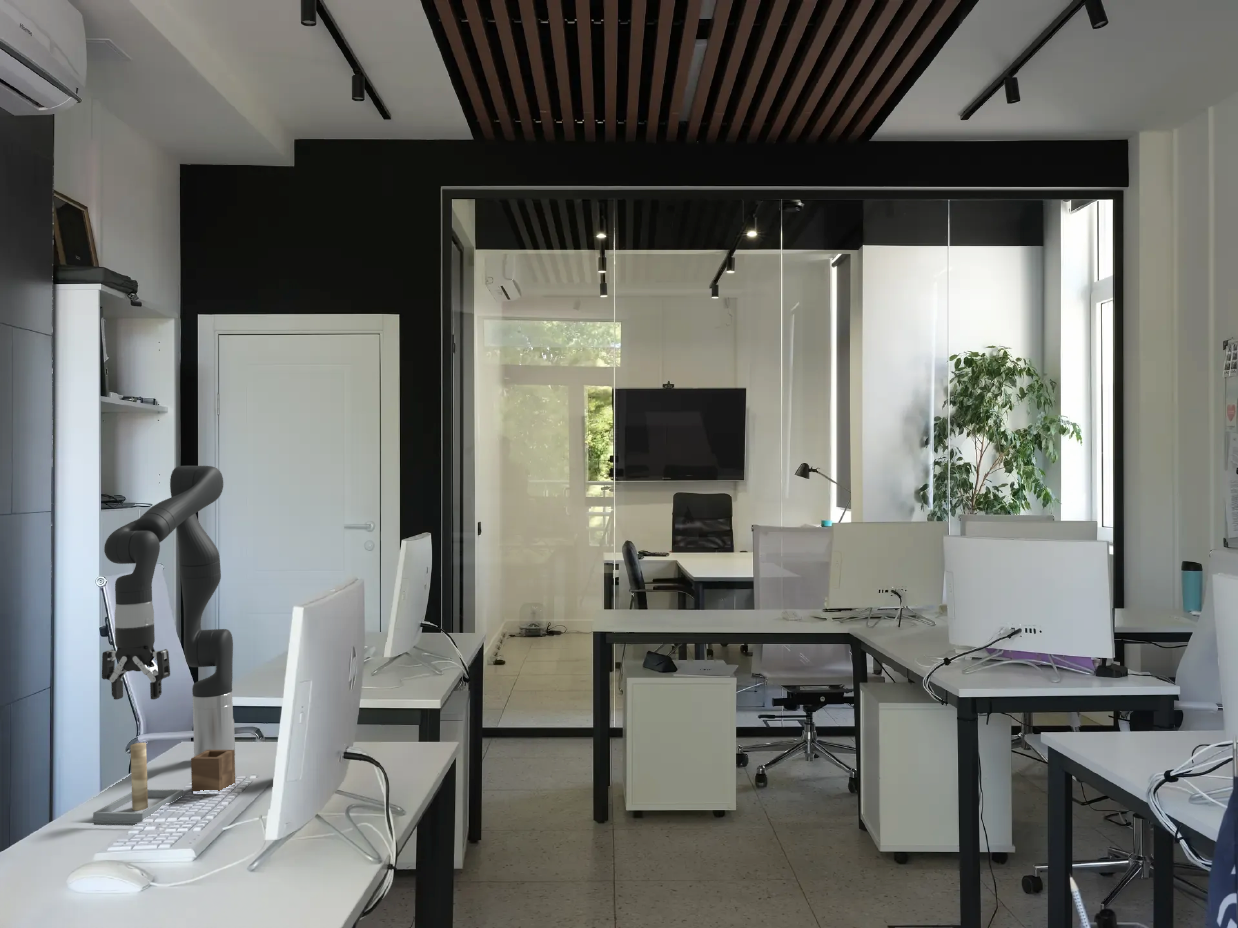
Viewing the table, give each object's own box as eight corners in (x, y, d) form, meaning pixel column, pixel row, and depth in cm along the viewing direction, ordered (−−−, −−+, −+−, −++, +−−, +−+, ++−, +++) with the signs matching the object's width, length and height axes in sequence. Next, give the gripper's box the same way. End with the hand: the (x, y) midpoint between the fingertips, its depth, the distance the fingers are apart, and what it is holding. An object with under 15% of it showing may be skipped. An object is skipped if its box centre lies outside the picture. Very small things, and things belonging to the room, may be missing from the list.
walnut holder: (208, 788, 213) (207, 749, 213) (235, 788, 212) (234, 749, 212) (192, 798, 206) (190, 758, 206) (219, 799, 206) (218, 758, 206)
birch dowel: (138, 806, 200) (136, 742, 200) (151, 807, 200) (149, 742, 200) (129, 812, 197) (127, 746, 197) (142, 812, 197) (140, 746, 197)
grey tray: (137, 799, 207) (137, 788, 207) (183, 800, 205) (183, 789, 205) (93, 824, 192) (93, 812, 192) (142, 825, 191) (142, 813, 191)
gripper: (175, 620, 202) (178, 694, 202) (115, 620, 203) (117, 694, 203) (154, 626, 194) (156, 703, 194) (92, 626, 196) (94, 703, 196)
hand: (136, 698), depth 199 cm, fingers open, 8 cm apart
